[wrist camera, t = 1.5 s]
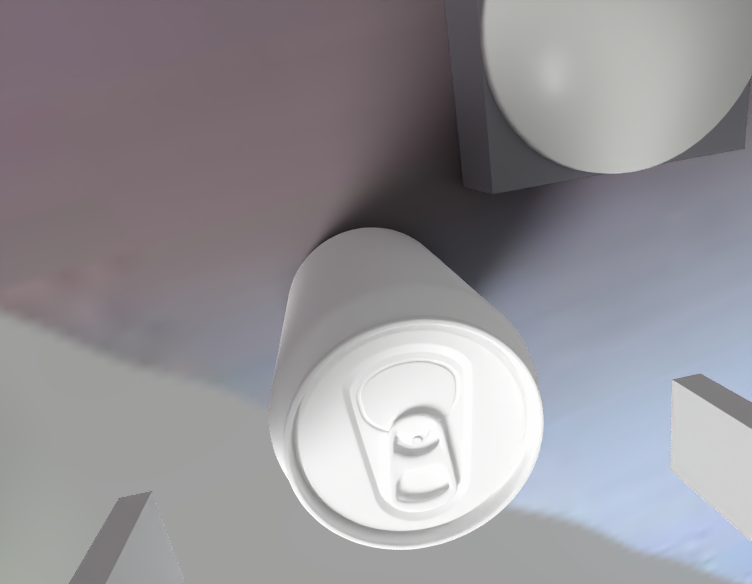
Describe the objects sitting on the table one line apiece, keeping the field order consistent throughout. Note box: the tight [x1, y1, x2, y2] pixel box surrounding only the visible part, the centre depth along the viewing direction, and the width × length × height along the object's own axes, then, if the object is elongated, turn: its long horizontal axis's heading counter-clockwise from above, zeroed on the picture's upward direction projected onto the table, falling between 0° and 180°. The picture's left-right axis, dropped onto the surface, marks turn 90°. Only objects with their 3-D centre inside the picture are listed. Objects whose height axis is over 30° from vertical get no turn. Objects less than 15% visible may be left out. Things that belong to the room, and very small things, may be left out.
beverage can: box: [269, 227, 544, 550], centre depth 18 cm, size 8×8×12 cm
